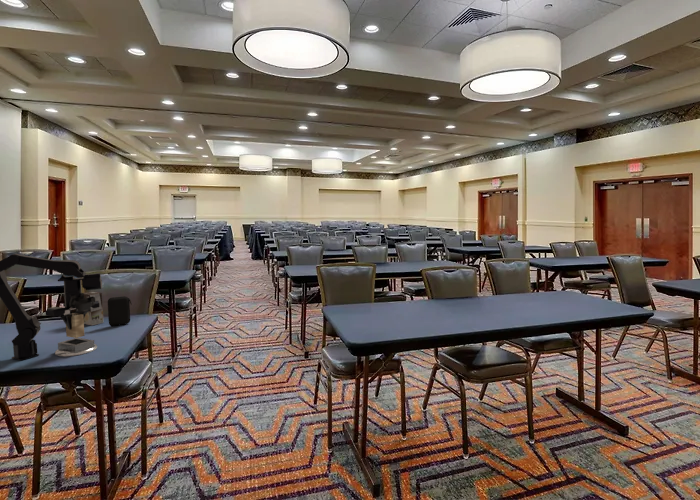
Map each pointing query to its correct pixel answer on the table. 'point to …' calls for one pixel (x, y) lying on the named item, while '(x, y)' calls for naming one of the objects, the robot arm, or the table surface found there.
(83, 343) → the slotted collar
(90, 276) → the robot arm
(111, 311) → the carrying case or bag
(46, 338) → the table surface
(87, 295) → the coffee box
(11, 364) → the table surface
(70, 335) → the light wood block
